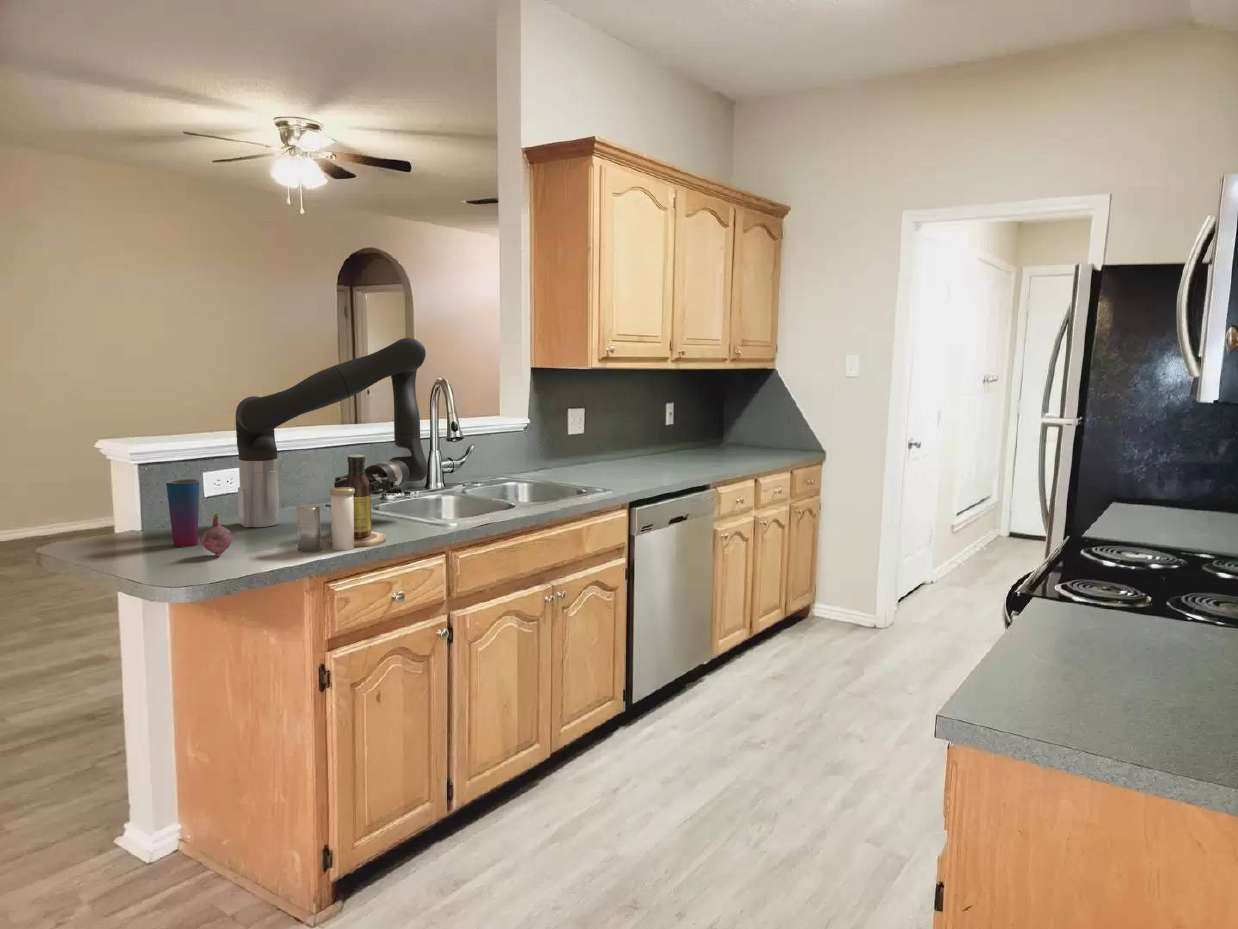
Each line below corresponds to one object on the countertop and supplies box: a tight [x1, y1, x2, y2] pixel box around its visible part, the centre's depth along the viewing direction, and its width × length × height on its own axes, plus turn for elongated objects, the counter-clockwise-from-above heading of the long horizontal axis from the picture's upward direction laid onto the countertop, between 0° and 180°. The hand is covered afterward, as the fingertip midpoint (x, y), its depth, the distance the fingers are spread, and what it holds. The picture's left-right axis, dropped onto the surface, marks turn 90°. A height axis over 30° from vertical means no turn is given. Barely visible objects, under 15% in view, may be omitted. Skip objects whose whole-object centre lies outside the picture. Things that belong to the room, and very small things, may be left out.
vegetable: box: [201, 511, 234, 556], centre depth 185 cm, size 6×6×10 cm
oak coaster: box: [328, 531, 387, 548], centre depth 203 cm, size 13×13×1 cm
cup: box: [165, 478, 200, 548], centre depth 194 cm, size 7×7×15 cm
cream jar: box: [328, 487, 355, 552], centre depth 194 cm, size 6×6×14 cm
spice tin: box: [296, 504, 322, 553], centre depth 192 cm, size 5×5×10 cm
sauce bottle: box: [344, 454, 372, 538], centre depth 201 cm, size 7×6×20 cm
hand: (353, 487), depth 199 cm, fingers open, 8 cm apart
